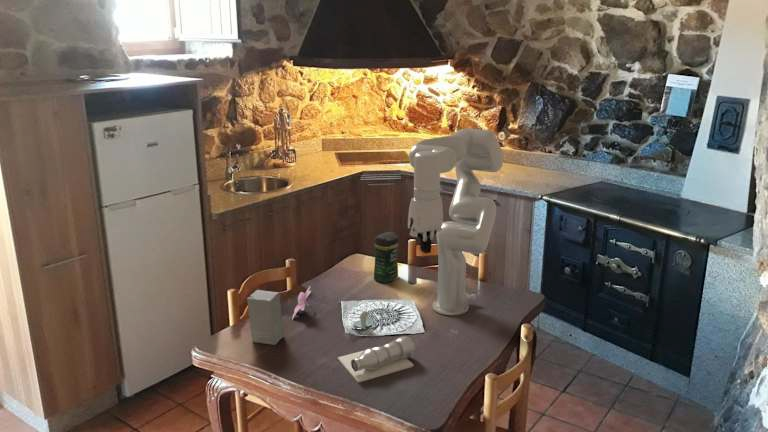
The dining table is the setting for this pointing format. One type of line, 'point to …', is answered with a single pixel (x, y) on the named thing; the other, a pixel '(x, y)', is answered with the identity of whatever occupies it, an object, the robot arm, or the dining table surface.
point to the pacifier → (363, 321)
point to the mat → (381, 371)
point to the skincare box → (265, 317)
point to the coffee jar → (386, 257)
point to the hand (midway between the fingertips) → (425, 251)
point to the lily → (302, 302)
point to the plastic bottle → (384, 354)
